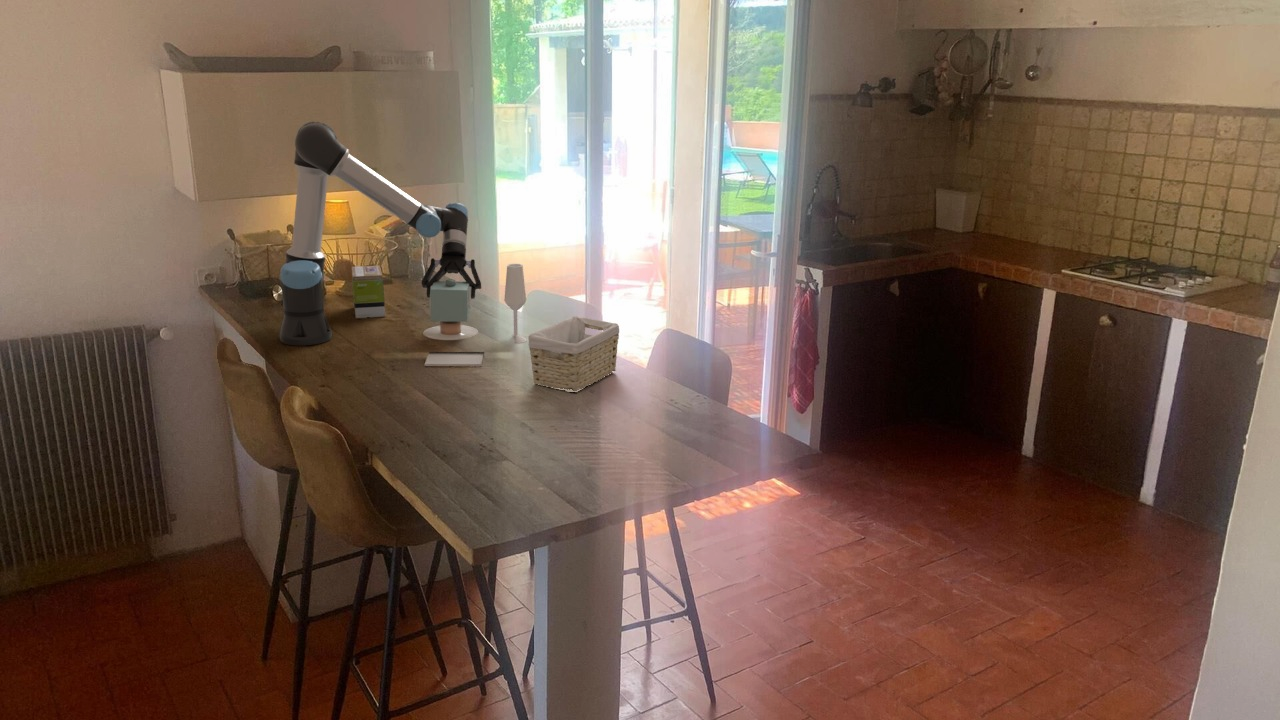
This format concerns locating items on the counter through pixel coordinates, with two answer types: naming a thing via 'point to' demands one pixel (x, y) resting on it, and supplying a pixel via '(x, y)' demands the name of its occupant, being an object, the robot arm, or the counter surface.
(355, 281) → the tea box
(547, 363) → the storage basket
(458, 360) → the mat
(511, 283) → the champagne flute
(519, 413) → the counter surface
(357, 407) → the counter surface
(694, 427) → the counter surface
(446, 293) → the cover
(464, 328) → the plate
